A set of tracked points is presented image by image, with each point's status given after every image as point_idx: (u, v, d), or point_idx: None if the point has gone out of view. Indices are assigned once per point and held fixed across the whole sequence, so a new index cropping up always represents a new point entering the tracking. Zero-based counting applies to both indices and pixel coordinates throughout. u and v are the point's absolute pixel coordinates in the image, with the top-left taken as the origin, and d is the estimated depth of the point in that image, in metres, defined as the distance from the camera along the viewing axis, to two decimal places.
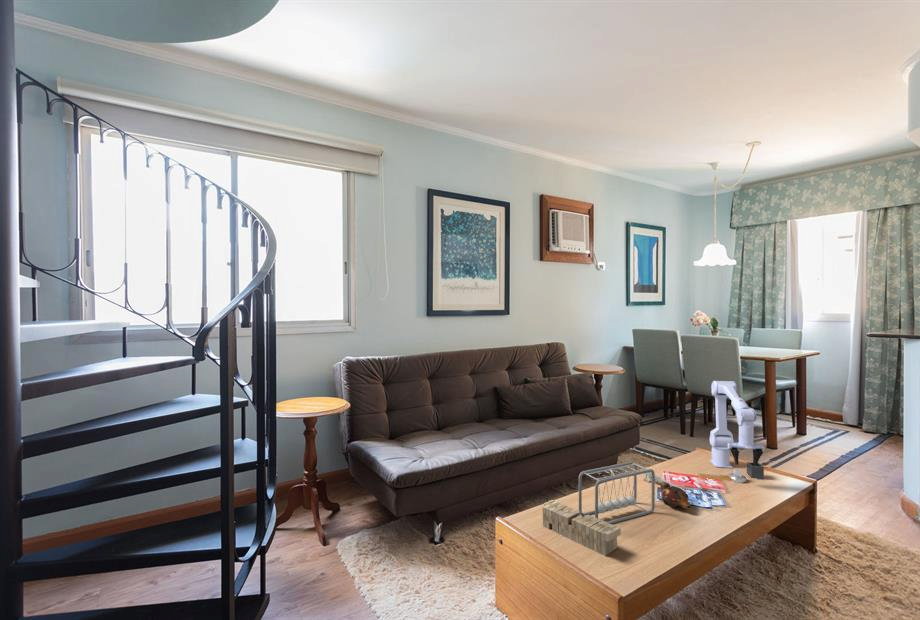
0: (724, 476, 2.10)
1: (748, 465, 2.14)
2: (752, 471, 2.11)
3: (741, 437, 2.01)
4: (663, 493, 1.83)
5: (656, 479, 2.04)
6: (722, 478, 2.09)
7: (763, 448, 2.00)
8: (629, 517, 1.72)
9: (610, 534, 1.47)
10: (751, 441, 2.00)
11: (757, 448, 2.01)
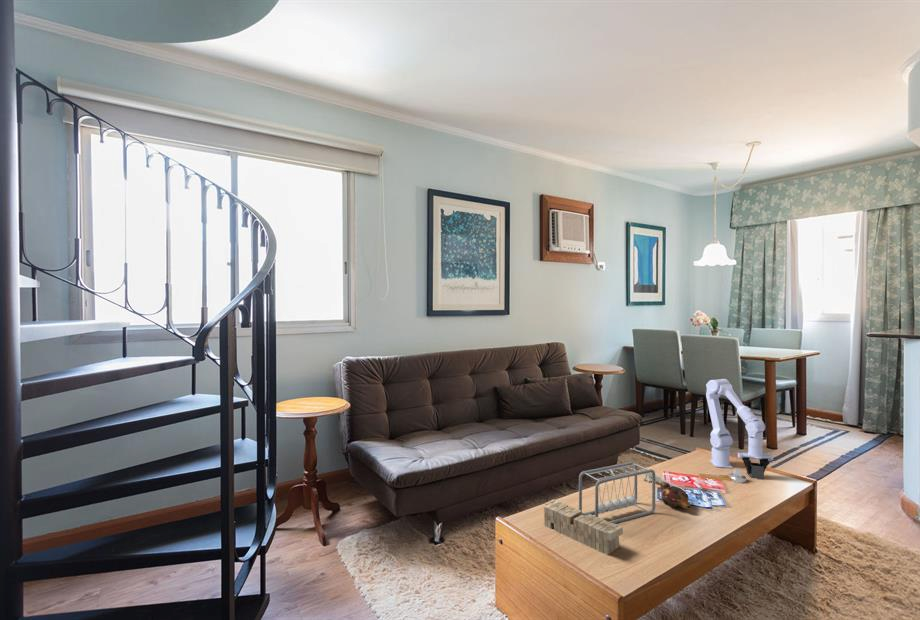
0: (724, 476, 2.10)
1: None
2: (752, 471, 2.11)
3: (751, 447, 2.12)
4: (663, 493, 1.83)
5: (656, 479, 2.04)
6: (722, 478, 2.09)
7: (772, 458, 2.10)
8: (629, 517, 1.72)
9: (612, 533, 1.48)
10: (760, 451, 2.10)
11: (766, 458, 2.12)
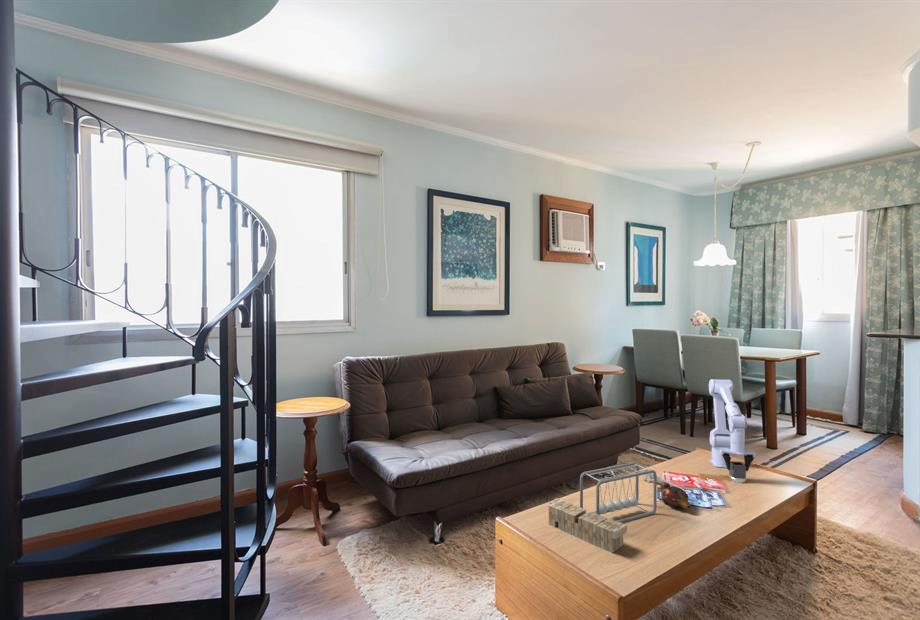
0: (724, 476, 2.10)
1: (730, 464, 2.10)
2: (734, 470, 2.07)
3: (733, 443, 2.08)
4: (663, 493, 1.83)
5: None
6: (722, 478, 2.09)
7: (754, 454, 2.07)
8: (631, 518, 1.71)
9: (617, 531, 1.49)
10: (742, 447, 2.06)
11: (748, 454, 2.08)
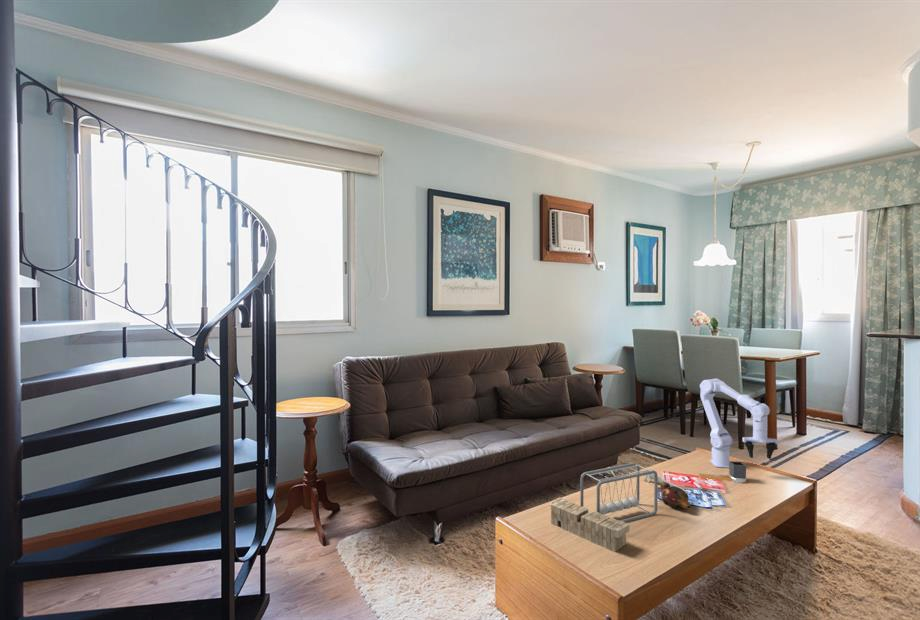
0: (724, 476, 2.10)
1: (730, 464, 2.10)
2: (734, 470, 2.07)
3: (755, 431, 2.11)
4: (663, 493, 1.83)
5: None
6: (722, 478, 2.09)
7: (776, 442, 2.10)
8: (631, 519, 1.71)
9: (620, 530, 1.49)
10: (765, 435, 2.10)
11: (771, 442, 2.11)
